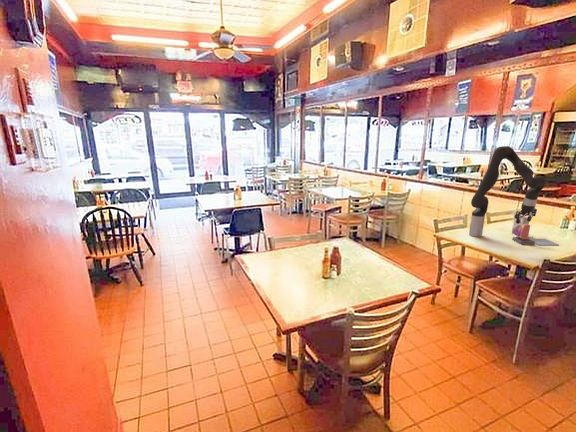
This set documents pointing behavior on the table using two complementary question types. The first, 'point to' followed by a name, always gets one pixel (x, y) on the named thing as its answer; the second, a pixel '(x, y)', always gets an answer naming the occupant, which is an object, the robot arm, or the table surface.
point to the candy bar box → (519, 225)
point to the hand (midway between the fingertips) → (522, 222)
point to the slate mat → (543, 242)
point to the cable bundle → (524, 232)
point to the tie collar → (523, 241)
